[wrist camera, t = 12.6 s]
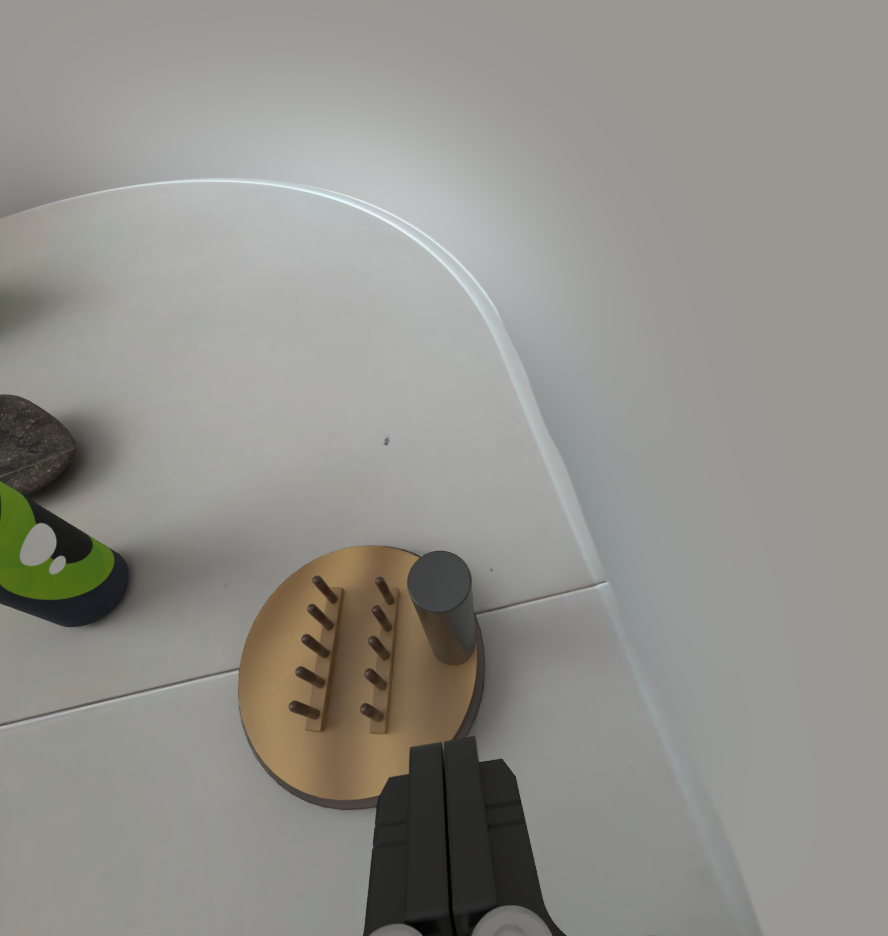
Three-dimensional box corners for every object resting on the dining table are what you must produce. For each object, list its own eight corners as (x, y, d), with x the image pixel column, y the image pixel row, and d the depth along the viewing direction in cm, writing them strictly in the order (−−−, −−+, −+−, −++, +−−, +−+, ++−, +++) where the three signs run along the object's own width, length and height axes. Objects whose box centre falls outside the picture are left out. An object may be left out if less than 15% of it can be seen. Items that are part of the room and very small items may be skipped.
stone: (107, 413, 50) (71, 379, 45) (72, 508, 44) (28, 480, 40) (-5, 425, 50) (-50, 392, 46) (-53, 522, 44) (-110, 494, 40)
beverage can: (38, 602, 39) (-174, 518, 27) (103, 540, 42) (-63, 437, 29) (84, 645, 37) (-122, 577, 25) (150, 577, 40) (-7, 483, 27)
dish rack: (477, 551, 38) (474, 455, 27) (476, 807, 29) (471, 824, 18) (273, 549, 39) (188, 457, 28) (215, 793, 31) (59, 801, 19)
